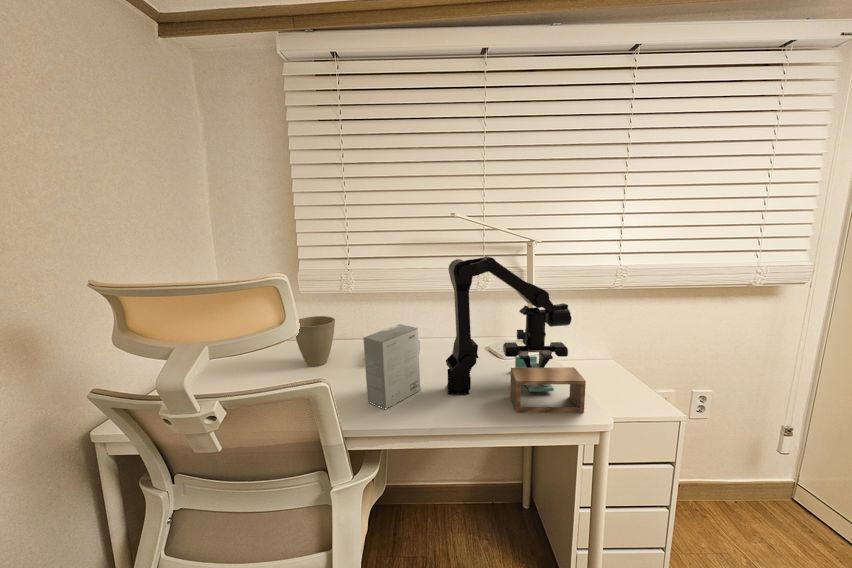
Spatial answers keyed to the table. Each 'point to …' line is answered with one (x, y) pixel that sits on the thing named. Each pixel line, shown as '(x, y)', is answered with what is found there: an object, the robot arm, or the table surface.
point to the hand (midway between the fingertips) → (533, 375)
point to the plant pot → (315, 339)
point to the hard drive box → (392, 365)
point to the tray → (522, 365)
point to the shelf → (548, 377)
